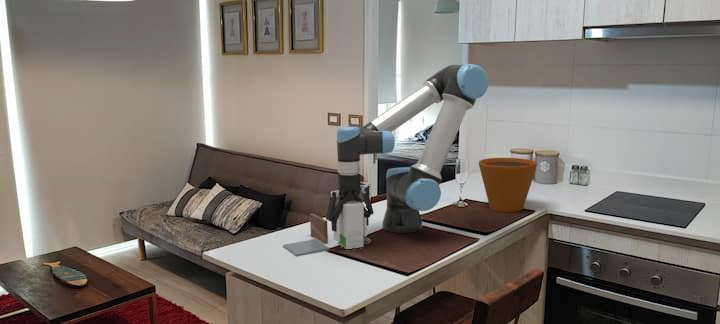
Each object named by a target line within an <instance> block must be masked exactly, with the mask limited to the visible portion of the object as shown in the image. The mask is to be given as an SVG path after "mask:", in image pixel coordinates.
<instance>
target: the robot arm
mask: <svg viewBox="0 0 720 324" xmlns="http://www.w3.org/2000/svg"><path fill="white" fill-rule="evenodd" d="M488 88H489V78H488V75H487V72H486V71H485V69H484V68H482V66H479V65H478V64H472V63H465V64H451V65H447V66H446V67H443V68H442V69H440V70H439V71H438V72H436V73H435V74H433V75H432V76H430V77H429V78H427V79H426V80H425V81H424V82H423V83H422V86H421V87H419V88H418V89H416V90H414V91H413V92H411V93H410V94H408V96H406V97H404V98H403V99H402V100H400V101H398V102H397V103H395V104H394V105H393V106H391V107H390V108H388V109H386V110H385V111H384V112H382V113H381V114H379V115H378V116H377V117H375V118H374V119H372V120H371V121H369V122H367V123H366V124H364V125H363V126H341V127H339V128H337V131H336V151H337V173H338V174H337V184H338V185H337V186H338V188H337V190H334V191H333V190H330V191H329V201H328V205H327V211H326V215H325V220H327V222H328V221H329V222H331V231H332V232H333V240H334V241H336V242H338V241H340V232H339V222H338V218H339V216H340V213H341V211H342V209H343V204H346V202H347V201H351V200H353V201H354V200H355V201H358V202H361V203H362V204H364V221H363V237H367V236H368V234H367V231H368V226H369V221H370V219H369V218H370V217H371V215H374V213H375V211H374V209H373V205H372V202H371V199H370V194H369V193H370V188H369V187H367V186H365V187H363V186H361V183H362V182H361V173H360V172H361V155H376V154H379V155H380V154H388V153H392V152H393V151H394V149H395V144H396V140H395V136H394V134H393V132H394V131H395V130H397V129H398V128H400V127H401V126H403V125H404V124H405V123H407V122H408V121H410V120H411V119H413V118H414V117H415V116H418V115H419V114H420V113H422V112H423V111H425V110H426V109H427V108H429V107H430V106H432V105H433V104H440V103H441V102H442V101H443V103H442V105H441V108H440V110H439V113H438V114H437V117H436V119H435V122H434V124H433V125H432V128H431V131H430V133H429V135H428V137H427V140H426V142H425V145H424V146H423V149H422V152H421V154H420V157H419V158H418V161H417V162H416V163H415V164H413V165H411V166H406V167H404V166H403V167H393V168H388V169H387V171H386V175H385V179H386V182H385V183H386V210H385V213H384V216H383V220H382V230H384V231H387V232H391V233H399V234H406V233H414V232H415V233H416V232H419V231H421V230H422V229H423V226H424V225H423V220H422V217H421V214H420V212H425V211H429V210H431V209H433V208H434V207H435V206H437V205H438V203H439V202H440V199H441V197H442V196H441V195H442V191H441V186H440V185H441V183H442V179H443V178H442V175H441V171H442V169H443V167H444V164H445V162H446V159H447V157H448V155H449V152H450V151H451V148H452V145H453V143H454V141H455V139H456V136H457V134H458V131H459V130H460V127H461V124H462V123H463V120H464V118H465V115H466V113H467V111H468V110H470V109H473V108H474V106H475V104H476V102H477V99H480V98H481V97H483V96H484V95H485V94H486V93H487V91H488ZM362 193H363V195H362V197H363V198H364V199H363V201H362V199H361V197H360V194H362ZM338 196H339V198H338ZM337 198H338V199H337ZM364 201H365V202H364ZM363 202H364V203H363ZM336 203H337V204H336ZM365 204H366V206H365ZM366 208H367V209H368V211H367V209H366Z"/></svg>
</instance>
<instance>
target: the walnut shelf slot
mask: <svg viewBox="0 0 720 324" xmlns="http://www.w3.org/2000/svg"><path fill="white" fill-rule="evenodd" d="M309 220H310V221H309V222H310V236H312V237H313V238H314V239H316V240H317V241H319V242H320V243H322V244H324V245H325V244H329V235H328V230H329V229H328V220H326V218H323V217H320V216H318V215H317V214H315V213H310V214H309Z"/></svg>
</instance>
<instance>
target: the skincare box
mask: <svg viewBox="0 0 720 324" xmlns="http://www.w3.org/2000/svg"><path fill="white" fill-rule="evenodd" d="M362 203H363V202H362ZM362 203H361V202H358V201H355V200H354V201H353V200H351V201H347V202H346V204H343V209H342V211H341V213H340V216H339V218H338V220H337V221H338V222H339V232H340V241H337V244H338V245H340V247H341V248H343V247H344V248H345V249H352V248H359V247H363V248H364V236H363V221H364V206H365V203H363V204H362ZM344 248H343V249H344Z"/></svg>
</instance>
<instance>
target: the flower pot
mask: <svg viewBox="0 0 720 324" xmlns="http://www.w3.org/2000/svg"><path fill="white" fill-rule="evenodd" d="M537 165H538V163H537V161H536V160H533V159H528V158H522V157H521V158H519V157H490V158H488V157H487V158H484V159H480V160H479V161H478V166H479V170H480V174H481V178H482V182H483V185H484V189H485V190H484V191H485V194H486V198H487V202H488V206H489V208H490V210H491V211H495V212H499V213H500V212H501V213H513V212H520V211H522V210H523V209H524V207H525V204H526V200H527V197H528V195H529V192H530V190H531V189H530V188H531V184H532V182H533V180H534V175H535V172H536V169H537Z"/></svg>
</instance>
